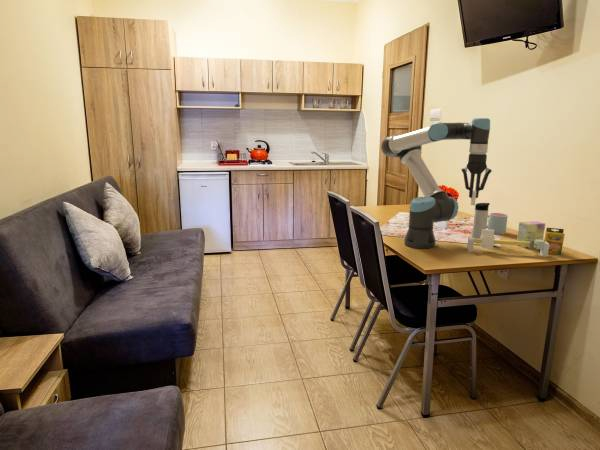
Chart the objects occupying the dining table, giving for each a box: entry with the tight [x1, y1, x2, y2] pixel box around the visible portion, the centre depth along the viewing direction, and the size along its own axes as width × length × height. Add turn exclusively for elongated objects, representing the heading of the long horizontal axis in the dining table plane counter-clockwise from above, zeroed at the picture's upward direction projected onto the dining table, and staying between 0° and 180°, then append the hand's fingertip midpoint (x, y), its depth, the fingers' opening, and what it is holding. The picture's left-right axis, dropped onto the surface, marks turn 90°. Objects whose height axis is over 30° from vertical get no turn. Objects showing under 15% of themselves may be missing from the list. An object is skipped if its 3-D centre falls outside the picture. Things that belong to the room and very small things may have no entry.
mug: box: [486, 212, 509, 235], centre depth 230 cm, size 14×9×10 cm
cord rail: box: [466, 236, 549, 258], centre depth 193 cm, size 34×4×7 cm, turn 77°
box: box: [516, 220, 546, 249], centre depth 203 cm, size 10×6×12 cm, turn 102°
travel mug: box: [471, 202, 491, 239], centre depth 210 cm, size 6×7×20 cm
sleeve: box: [479, 228, 495, 249], centre depth 194 cm, size 5×5×8 cm
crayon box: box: [543, 227, 566, 255], centre depth 192 cm, size 7×3×12 cm, turn 70°
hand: (472, 204), depth 192 cm, fingers closed
